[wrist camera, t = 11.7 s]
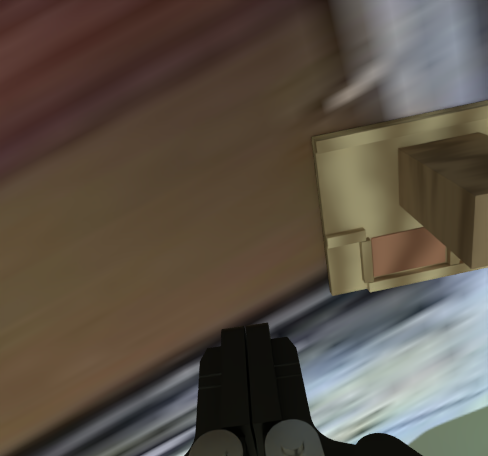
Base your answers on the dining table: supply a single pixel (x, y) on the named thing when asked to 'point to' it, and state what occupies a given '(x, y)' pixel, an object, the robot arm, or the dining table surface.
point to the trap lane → (382, 202)
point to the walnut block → (449, 192)
